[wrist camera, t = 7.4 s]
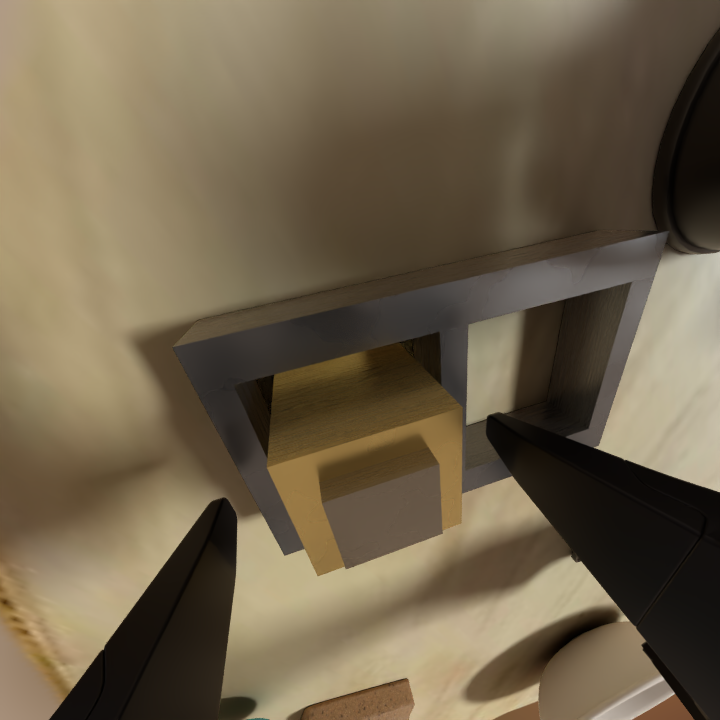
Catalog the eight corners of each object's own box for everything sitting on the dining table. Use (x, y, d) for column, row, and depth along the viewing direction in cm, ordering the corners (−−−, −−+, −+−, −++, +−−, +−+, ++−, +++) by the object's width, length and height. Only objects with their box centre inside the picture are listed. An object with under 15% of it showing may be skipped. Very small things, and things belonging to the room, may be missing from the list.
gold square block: (394, 338, 11) (476, 422, 6) (405, 428, 14) (471, 540, 9) (274, 369, 11) (264, 489, 6) (307, 459, 13) (319, 598, 8)
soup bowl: (527, 690, 45) (563, 759, 39) (477, 669, 34) (517, 761, 28) (656, 614, 43) (713, 673, 38) (649, 563, 32) (730, 638, 26)
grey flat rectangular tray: (598, 230, 11) (669, 230, 9) (557, 417, 16) (598, 445, 14) (198, 320, 9) (172, 347, 7) (284, 505, 14) (284, 555, 12)
